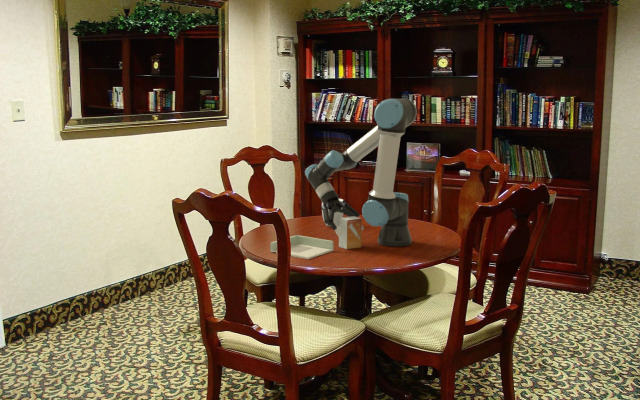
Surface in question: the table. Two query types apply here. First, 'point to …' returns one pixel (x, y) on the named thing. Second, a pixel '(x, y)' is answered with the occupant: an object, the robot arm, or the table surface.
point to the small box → (350, 232)
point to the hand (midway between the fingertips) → (351, 232)
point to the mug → (335, 215)
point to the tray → (306, 246)
